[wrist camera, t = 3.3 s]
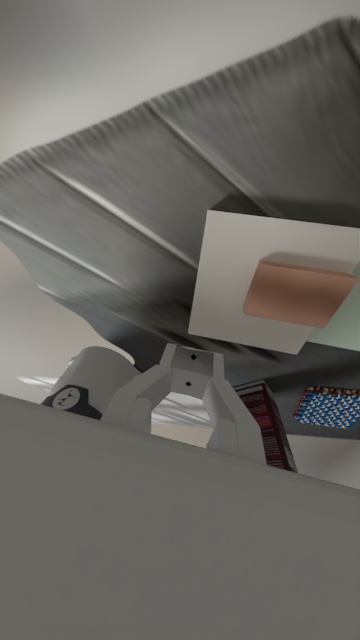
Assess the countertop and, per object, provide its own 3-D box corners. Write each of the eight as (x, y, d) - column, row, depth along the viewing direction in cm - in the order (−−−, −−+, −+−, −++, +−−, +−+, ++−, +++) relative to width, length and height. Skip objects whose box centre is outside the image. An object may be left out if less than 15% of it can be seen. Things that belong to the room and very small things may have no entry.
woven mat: (347, 421, 35) (353, 431, 33) (290, 413, 37) (293, 423, 35) (373, 388, 30) (382, 399, 28) (304, 382, 32) (309, 392, 30)
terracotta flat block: (315, 319, 21) (323, 328, 20) (242, 307, 22) (244, 314, 20) (346, 272, 18) (359, 278, 16) (259, 259, 19) (263, 264, 17)
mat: (365, 350, 25) (367, 352, 25) (294, 337, 26) (295, 339, 26) (441, 271, 19) (446, 272, 18) (343, 257, 20) (345, 258, 19)
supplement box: (234, 402, 38) (243, 504, 25) (223, 389, 36) (226, 491, 23) (274, 393, 34) (311, 508, 21) (264, 378, 32) (297, 493, 19)
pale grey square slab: (289, 341, 27) (296, 354, 25) (190, 322, 29) (187, 333, 26) (357, 228, 18) (380, 230, 16) (208, 210, 20) (207, 209, 17)
